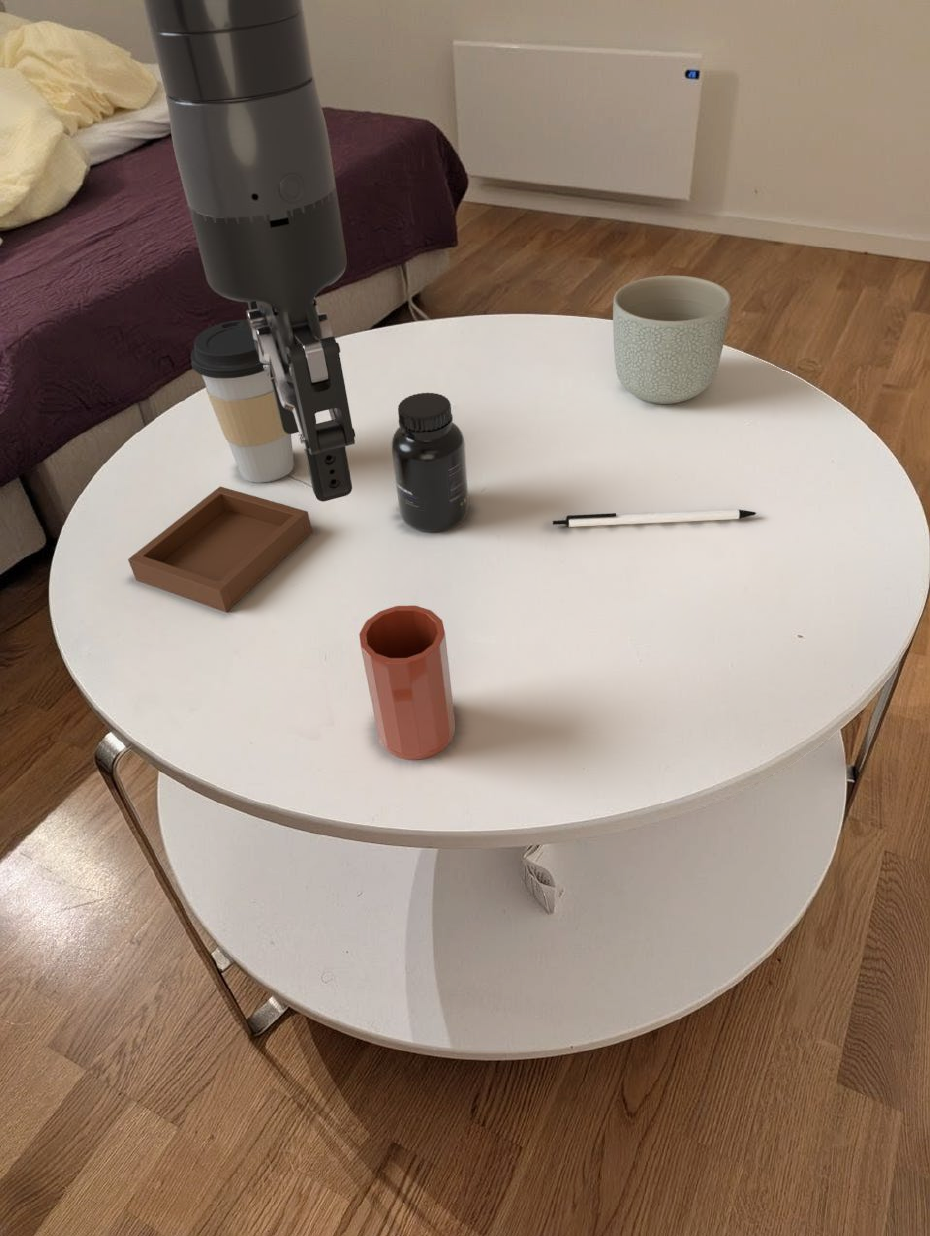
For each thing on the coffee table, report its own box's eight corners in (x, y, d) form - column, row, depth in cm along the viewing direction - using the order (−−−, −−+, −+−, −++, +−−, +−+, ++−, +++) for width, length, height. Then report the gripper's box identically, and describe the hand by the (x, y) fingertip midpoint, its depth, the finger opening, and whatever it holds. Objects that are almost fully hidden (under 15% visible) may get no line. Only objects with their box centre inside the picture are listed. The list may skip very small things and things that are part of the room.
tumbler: (431, 770, 67) (417, 673, 60) (363, 743, 69) (342, 647, 62) (469, 716, 70) (460, 619, 64) (403, 692, 73) (388, 596, 66)
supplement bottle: (389, 528, 89) (372, 418, 81) (416, 489, 94) (403, 382, 86) (454, 539, 87) (444, 428, 79) (479, 500, 92) (472, 390, 84)
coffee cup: (277, 436, 104) (247, 308, 94) (328, 465, 99) (303, 332, 89) (206, 471, 99) (167, 340, 89) (256, 504, 94) (220, 368, 84)
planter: (587, 392, 107) (589, 301, 100) (655, 355, 113) (662, 266, 105) (673, 428, 100) (682, 332, 92) (741, 386, 105) (754, 293, 98)
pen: (552, 523, 88) (552, 514, 87) (755, 514, 87) (757, 504, 86) (553, 529, 87) (553, 519, 86) (757, 520, 86) (759, 510, 85)
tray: (226, 612, 81) (219, 591, 80) (135, 580, 86) (127, 559, 84) (312, 532, 90) (308, 511, 88) (225, 506, 94) (219, 486, 92)
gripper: (167, 163, 51) (235, 423, 61) (210, 243, 41) (282, 539, 51) (299, 140, 52) (343, 397, 63) (372, 212, 42) (409, 504, 53)
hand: (316, 460), depth 57 cm, fingers open, 8 cm apart
